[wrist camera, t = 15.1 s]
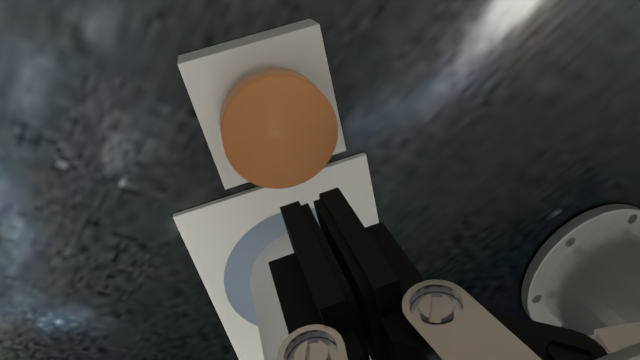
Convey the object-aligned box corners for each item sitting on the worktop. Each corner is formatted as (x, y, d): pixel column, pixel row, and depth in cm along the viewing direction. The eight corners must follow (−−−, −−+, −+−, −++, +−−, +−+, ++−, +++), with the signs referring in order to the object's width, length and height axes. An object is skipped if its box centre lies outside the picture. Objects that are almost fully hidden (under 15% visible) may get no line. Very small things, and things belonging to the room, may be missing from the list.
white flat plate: (363, 152, 28) (366, 155, 28) (394, 311, 35) (397, 316, 35) (172, 213, 27) (172, 218, 26) (243, 367, 34) (244, 372, 33)
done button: (313, 54, 21) (324, 63, 19) (336, 152, 24) (347, 168, 22) (203, 86, 20) (205, 98, 19) (238, 183, 23) (243, 202, 21)
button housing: (309, 18, 24) (319, 23, 22) (336, 137, 27) (346, 150, 25) (178, 55, 23) (177, 64, 21) (222, 173, 26) (225, 189, 25)
